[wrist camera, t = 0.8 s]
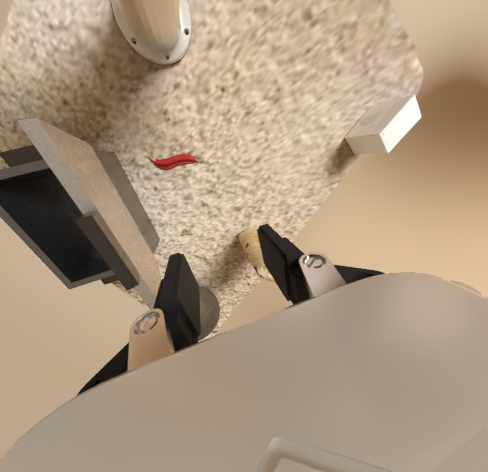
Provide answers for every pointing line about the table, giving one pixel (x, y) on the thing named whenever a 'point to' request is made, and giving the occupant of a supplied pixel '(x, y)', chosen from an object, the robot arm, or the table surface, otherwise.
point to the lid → (98, 207)
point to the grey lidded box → (61, 215)
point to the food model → (254, 252)
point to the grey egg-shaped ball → (208, 312)
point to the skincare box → (384, 126)
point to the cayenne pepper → (174, 161)
